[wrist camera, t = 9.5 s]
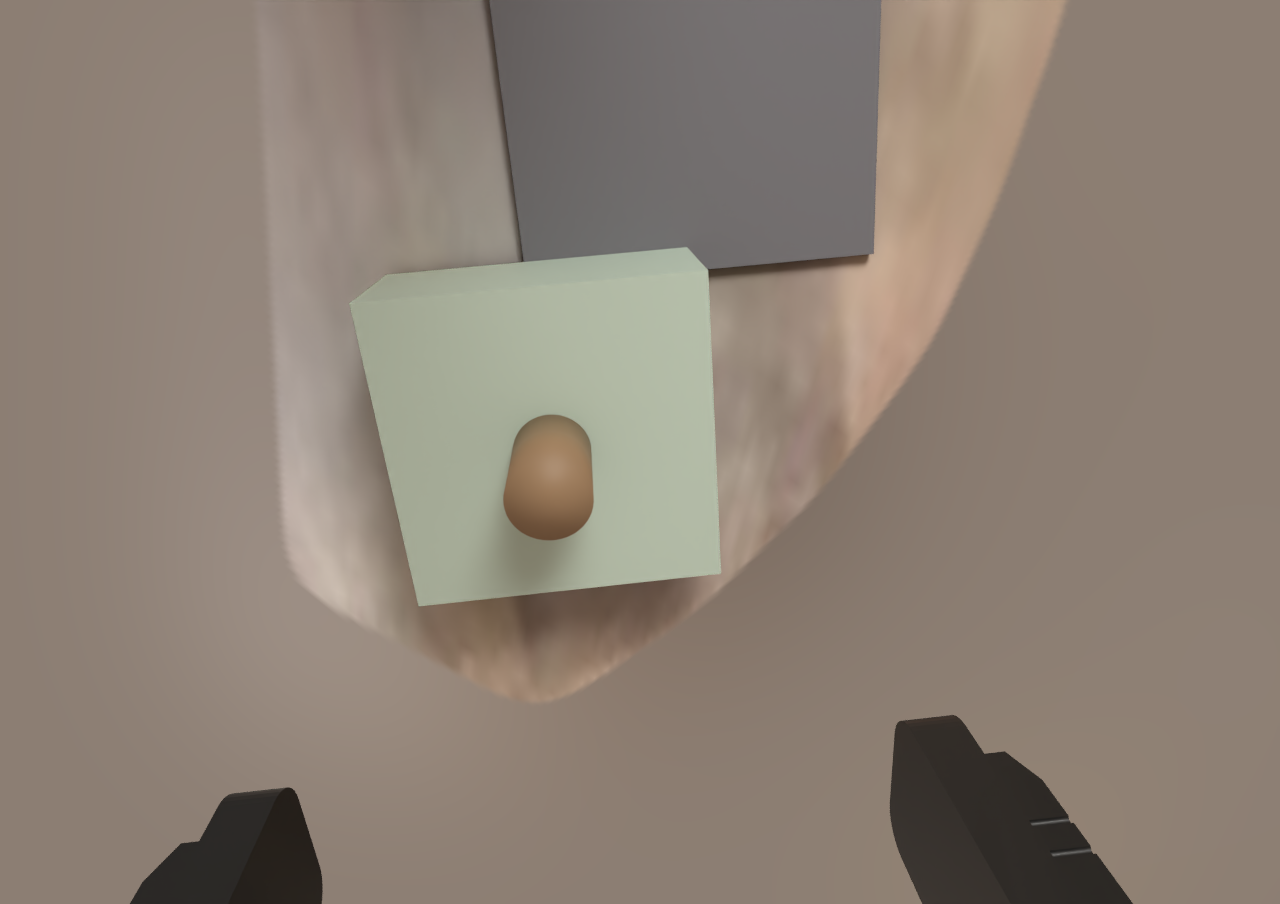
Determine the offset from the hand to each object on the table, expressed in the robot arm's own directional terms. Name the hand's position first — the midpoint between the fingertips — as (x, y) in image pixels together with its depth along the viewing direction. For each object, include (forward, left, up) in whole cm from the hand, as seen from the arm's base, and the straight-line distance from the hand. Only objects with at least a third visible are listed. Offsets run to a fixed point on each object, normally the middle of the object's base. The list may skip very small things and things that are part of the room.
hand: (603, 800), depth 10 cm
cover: (+2, -1, -23) cm, 23 cm away
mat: (-10, +5, -24) cm, 26 cm away
